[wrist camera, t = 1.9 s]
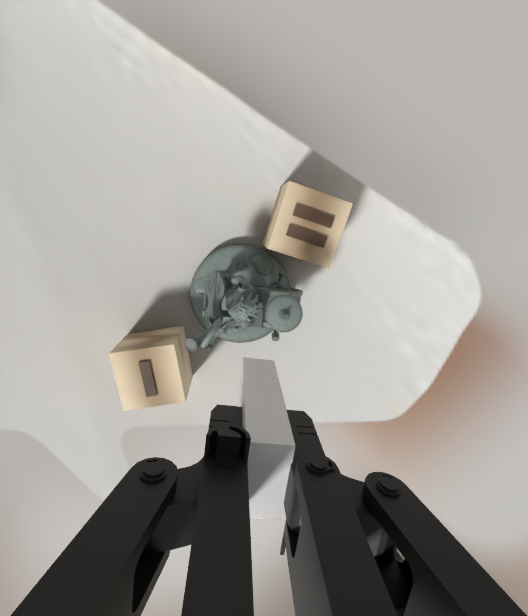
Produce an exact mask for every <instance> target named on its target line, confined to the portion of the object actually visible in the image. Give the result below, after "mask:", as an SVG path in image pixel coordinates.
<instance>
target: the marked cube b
mask: <svg viewBox="0 0 528 616" xmlns="http://www.w3.org/2000/svg"><path fill="white" fill-rule="evenodd" d="M352 205H353V203H350V202H347V201H344V200H341V199H339V198H336V197H333V196H330V195H328V194H325V193H322V192H319V191H316V190H314V189H311V188H308V187H305V186H303V185H300V184H297V183H294V182H291V181H288V182H287V183H285V184H284V185H283V186H281V187H280V190H279V193H278V196H277V199H276V202H275V206H274V209H273V212H272V215H271V218H270V221H269V224H268V228H267V231H266V234H265V237H264V240H263V243H262V244H263V245H264V246H265V247H266V248H267V249H270V250H273V251H276V252H279V253H283V254H286V255H289V256H292V257H295V258H298V259H301V260H304V261H307V262H310V263H313V264H316V265H319V266H323V267H326V268H330V265H331V263H332V260H333V257H334V254H335V252H336V249H337V246H338V244H339V241H340V238H341V235H342V233H343V230H344V227H345V224H346V222H347V219H348V216H349V214H350V211H351V208H352Z"/></svg>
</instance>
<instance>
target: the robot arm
mask: <svg viewBox="0 0 528 616" xmlns="http://www.w3.org/2000/svg"><path fill="white" fill-rule="evenodd" d="M284 507H285V512H286V524H285V529H284V534H283V539H282V545H281V552H280V554H281V555H284V552H285V547H286V552H287V558H288V566H289V572H290V580H291V587H292V593H293V601H294V607H295V614H296V616H527V615H526V614H525V613H524V612H523V611H522V610H521V609H520V608H519V607H518V605H517V604H516V603H515V602H514V601H513V600H512V599H511V598H510V597H509V596H508V595H507V594H506V593H505V591H504V590H503V589H502V588H501V587H500V586H499V585H498V584H497V583H496V582H495V581H494V580H493V578H491V576H490V575H489V574H488V573H487V572H486V571H485V570H484V569H483V568H482V567H481V566H480V565H479V563H478V562H477V561H476V560H475V559H474V558H473V557H472V556H471V555H470V554H469V553H468V552H467V551H466V549H465V548H464V547H463V546H462V545H461V544H460V543H459V542H458V541H457V540H456V539H455V538H454V536H453V535H452V534H451V533H450V532H449V531H448V530H447V529H446V528H445V527H444V526H443V524H442V523H441V522H440V521H439V520H438V519H437V518H436V517H435V516H434V515H433V514H432V513H431V512H430V510H429V509H428V508H427V507H426V506H425V505H424V504H423V503H422V502H421V501H420V500H419V499H418V497H417V496H415V494H414V493H413V492H412V491H411V490H410V489H409V488H408V487H407V486H406V485H405V484H404V483H403V482H402V481H401V480H399V479H397V478H396V477H394V476H392V475H390V474H387V473H383V472H373V473H370V474H368V475H367V477H366V478H365V482H361V481H358V480H355V479H352V478H348V477H346V476H344V475H342V474H340V471H339V469H338V467H337V465H336V464H335V463H334V462H333V461H332V460H331V459H329V458H328V457H326V456H325V454H324V451H323V449H322V446H321V443H320V441H319V438H318V436H317V432H316V430H315V428H314V424H313V422H312V419H311V418H310V417H309V416H308V415H307V414H306V413H305V412H304V411H294V410H286V406H285V403H284V399H283V395H282V391H281V387H280V383H279V379H278V375H277V371H276V367H275V363H274V361H272V360H262V359H253V358H243V364H242V371H241V379H240V386H239V394H238V401H237V406H227V405H217V406H216V407H215V408H214V409H213V410H212V411H211V417H210V424H209V431H208V433H207V435H206V445H205V454H204V457H203V458H202V459H201V460H200V461H199V462H198V463H196V464H194V465H192V466H189V467H185V468H180V469H177V467H176V465H175V464H173V462H172V461H170V460H167V459H165V458H157V457H154V458H148V459H145V460H142V461H140V462H138V463H136V464H135V465H134V466H133V467H132V468H131V469H130V470H129V471H128V472H127V474H126V475H125V476H124V477H123V479H122V480H121V481H120V482H119V483H118V485H117V486H116V487H115V488H114V490H113V491H112V492H111V493H110V495H109V496H108V497H107V498H106V499H105V501H104V502H103V503H102V504H101V506H100V507H99V508H98V509H97V510H96V512H95V513H94V514H93V515H92V517H91V518H90V519H89V520H88V522H87V523H86V524H85V525H84V526H83V528H82V529H81V530H80V531H79V532H78V534H77V535H76V536H75V538H74V539H73V540H72V541H71V542H70V544H69V545H68V546H67V547H66V549H65V550H64V551H63V552H62V553H61V555H60V556H59V557H58V558H57V560H56V561H55V562H54V563H53V564H52V566H51V567H50V568H49V570H47V572H46V573H45V574H44V576H43V577H42V578H41V579H40V580H39V582H38V583H37V584H36V586H34V588H33V589H32V590H31V591H30V593H29V594H28V595H27V596H26V597H25V599H24V600H23V601H22V603H21V604H20V605H19V606H18V607H17V608H16V610H15V611H14V612H13V613H12V615H11V616H141V613H142V611H143V609H144V607H145V605H146V603H147V601H148V599H149V597H150V595H151V592H152V590H153V588H154V586H155V584H156V582H157V580H158V578H159V576H160V574H161V571H162V569H163V567H164V565H165V563H166V561H167V559H168V557H169V553H170V550H173V549H176V548H180V547H184V546H187V545H191V544H192V545H191V552H190V559H189V566H188V573H187V580H186V587H185V593H184V600H183V608H182V615H181V616H254V609H253V584H252V560H251V537H250V518H258V519H275V520H276V519H277V520H282V517H283V511H284ZM397 548H398V549H399V551H400V552H401V554H402V555H403V556H404V558H405V560H403V559H402V558H401V556H400V555H399V554H398V552H397Z"/></svg>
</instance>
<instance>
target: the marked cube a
mask: <svg viewBox="0 0 528 616" xmlns="http://www.w3.org/2000/svg"><path fill="white" fill-rule="evenodd" d="M185 340H186V336H185V331H184V326H177V327H170V328H163V329H156V330H149V331H141V332H134V333H128V334H127V335H126V336H125V337H124V338H123V339H122V341H121V342H120V343H119V344H118V345H117V346H116V347H115V348H114V349H113V350H112V351H111V352H110V353H109V356H110V360H111V363H112V367H113V371H114V375H115V379H116V383H117V387H118V391H119V395H120V399H121V403H122V407H123V411H126V410H133V409H140V408H147V407H153V406H160V405H167V404H173V403H180V402H186V398H187V395H188V391H189V387H190V384H191V380H192V377H193V373H192V368H191V363H190V357H189V352H188V350H187V349H186V348H185V345H184V342H185Z"/></svg>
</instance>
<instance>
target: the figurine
mask: <svg viewBox="0 0 528 616" xmlns="http://www.w3.org/2000/svg"><path fill="white" fill-rule="evenodd" d="M302 293H303V291H302V290H298V289H293V288H290V285H289V281H288V278H287V275H286V270H285V269H284V268H282V266H281V265H280V263H279V262H278V261H277V260H276V259H275V258H274V257H273V256H272V255H270V254H269V253H267V252H266V251H264V250H262V249H260V248H258V247H255V246H251V245H244V244H237V245H230V246H226V247H223V248H220V249H218V250H216V251H215V252H213V253H211V254H210V255H209V256H208V257H207V258H205V260H204V261H203V262H202V263H201V264H200V266H199V267H198V269H197V270H196V272H195V274H194V277H193V279H192V283H191V290H190V298H191V304H192V308H193V311H194V313H195V316H196V317H197V319H198V321H199V322H200V323H201V325H202V326H203V327H204V328H205V329H206V330H205V331H204V332H202V333H200V334H198V335H195V336H193V337H191V338H187V339H186V340H185V342H184V345H185V348H186V349H187V350H188V351H190V352H194V351H196V350H197V349H198V348H199V347H200V345H201V347H202V348H205V347H206V346H207V348H209V349H212V348H213V346H214V344H215V340H216V337H218V338H220V339H223V340H225V341H229V342H237V343H243V342H251V341H255V340H258V339H260V338H263V337H264V336H266V335H268V334H269V333H271V332H272V331H273V330H274V332H273V333H272V340H273V341H278V340H279V333H278V332H289V331H292V330H293V329H295V328H296V327H297V326H298V325H299V323H300V322H301V319H302V308H301V305H300V299H301V296H302ZM277 331H278V332H277Z"/></svg>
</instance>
